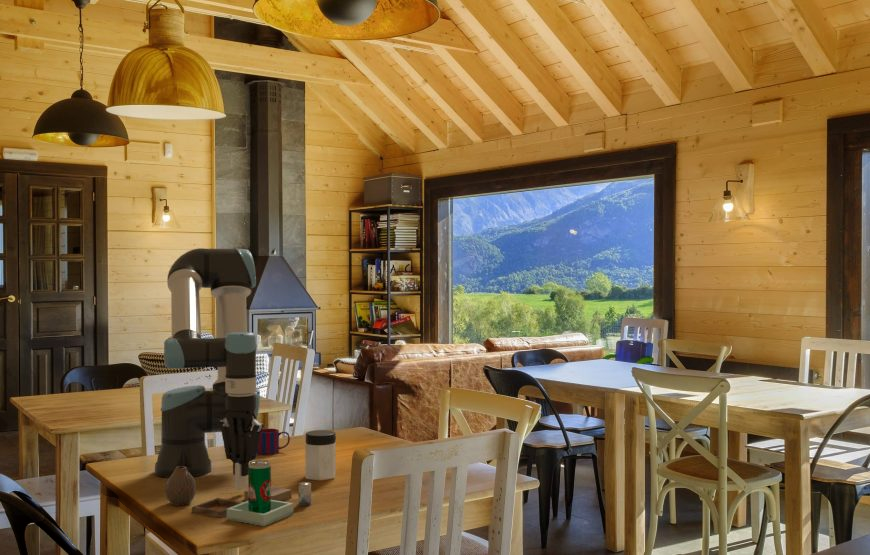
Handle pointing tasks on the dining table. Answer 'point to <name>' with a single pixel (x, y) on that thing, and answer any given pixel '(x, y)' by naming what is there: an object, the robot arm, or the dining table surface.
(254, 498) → the soda can
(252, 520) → the tray
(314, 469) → the jar
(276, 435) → the mug
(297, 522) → the dining table surface
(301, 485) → the salt shaker
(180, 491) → the vase
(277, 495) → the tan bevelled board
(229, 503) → the brown square frame
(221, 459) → the dining table surface
